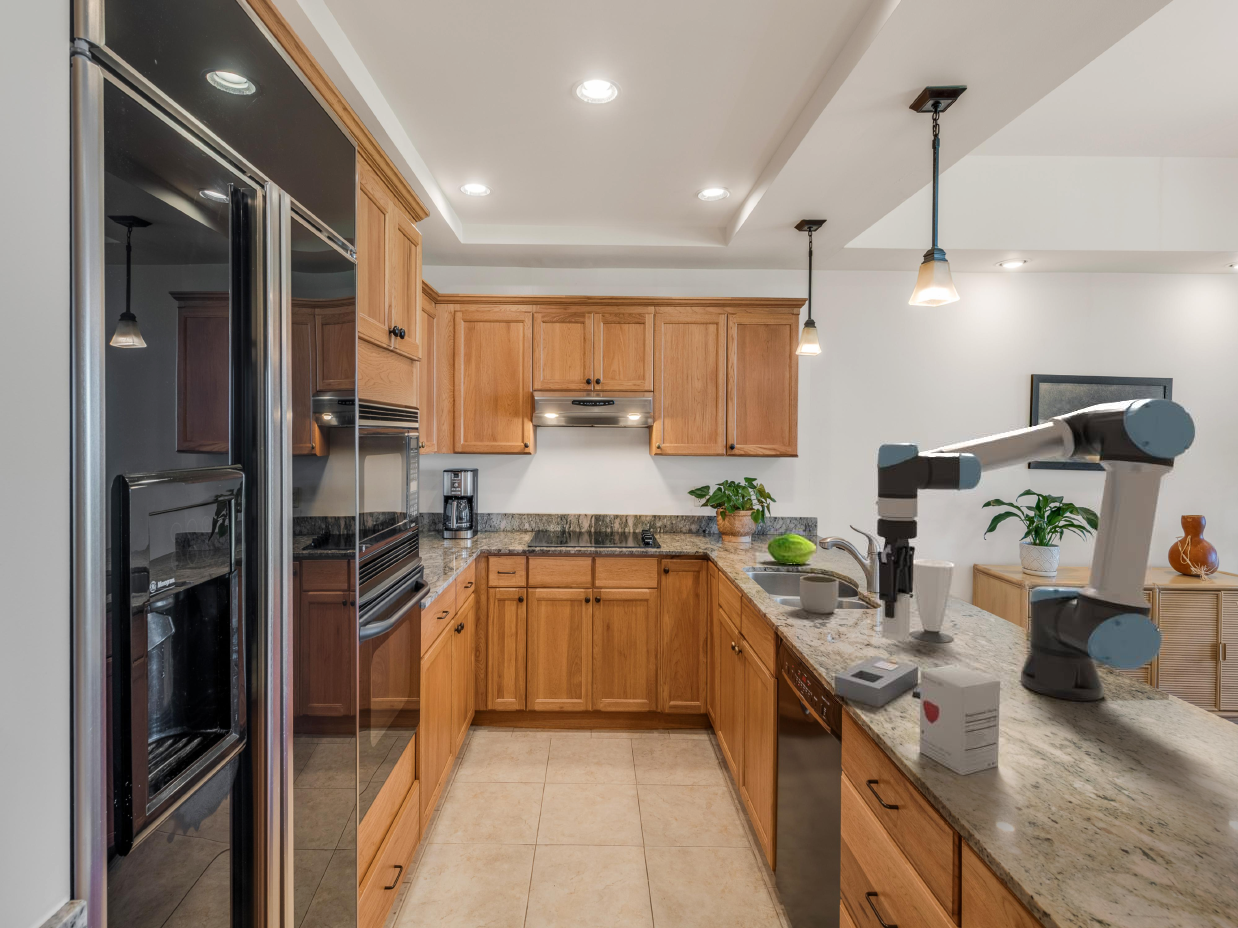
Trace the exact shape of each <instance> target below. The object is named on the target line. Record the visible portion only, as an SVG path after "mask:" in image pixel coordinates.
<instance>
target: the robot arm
mask: <svg viewBox="0 0 1238 928" xmlns="http://www.w3.org/2000/svg"><path fill="white" fill-rule="evenodd" d="M1195 437H1196V426H1195V422H1194V420H1193V417H1192V415H1190V413H1189V412H1187V411H1186V409H1185V408H1184V406H1182V405H1181V404H1179V403H1177V402H1176V401H1173V400H1170V399H1168V398H1167V399H1166V398H1138V399H1132V400H1124V401H1118V402H1106V403H1099V404H1096V405H1092V406H1087V407H1086V408H1082V409H1079V410H1077V411H1073V412H1069V413H1066V414H1063V415H1057V416H1054V417H1051V418H1048V419H1047V420H1046V421H1045V422H1044V423H1043V424H1039V425H1036V426H1031V427H1026V428H1021V429H1018V430H1014V431H1008V432H1004V433H999V434H996V435H992V436H986V437H982V438H977V439H972V440H969V441H964V442H960V443H959V442H958V443H955V444H951V445H948V446H944V447H943V446H941V447H939V448H938V447H937V448H935V449H930V450H926V451H925V450H924V451H921V452H920V451H919V447H918V444H915V443H884V444H882V445H880V447H879V448H878V453H877V464H876V467H877V501H876V502H875V505H876V506H877V515H878V517H880V518H878V519H877V520H876V521H877V522H876V523H877V526H876V528H877V529H876V534H877V536H879V537H880V538H884V544H883V549H882V551H877V563H878V600H879V601H881V602H882V601H884V632H887V633H892V634H896V635H898V634H899V602H897V593H904V594H910V599H912V598H913V597H914V594H913V591H914V584H913V560H915V558H914V557H915V552H916V551H915V550H916V547H915V546H913V545H912V546H911V545H910V541H909V540H911V539H912V540H913V539H916V538H917V537H918V522H917V520H916V519H915V518H917V517H918V496H919V495H918V491H919V490H924V491H925V490H940V491H941V490H942V491H943V490H945V491H946V490H949V491H955V490H956V491H958V492H959V491H962V490H963V491H964V490H973V489H975V488H976V487H977V486H979V484H980V481H981V478H982V473H987V472H989V471H995V470H999V469H1003V468H1004V469H1005V468H1009V467H1013V466H1018V465H1022V464H1027V463H1032V462H1035V461H1036V462H1037V461H1040V460H1045V459H1051V458H1056V459H1059V460H1067V459H1071V458H1076V457H1079V458H1080V457H1099V458H1098V463H1099V465H1100V466H1101V467H1102V468H1103V469H1104V470H1105V472H1106V473H1105V474H1106V475H1105V480H1104V486H1103V492H1102V499H1101V504H1100V505H1101V506H1100V511H1099V517H1098V518H1099V519H1098V524H1097V531H1096V537H1095V542H1094V549H1093V556H1092V563H1091V569H1090V573H1089V582H1088V585H1086V586H1085V587H1075V586H1074V587H1072V586H1053V585H1052V586H1051V585H1050V586H1047V585H1046V586H1036V587H1034V588H1033V589H1032V590H1031V594H1030V601H1029V605H1030V634H1029V635H1030V638H1029V639H1030V641H1029V642H1030V649H1029V651H1028V653H1027V656H1026V658H1025V659H1026V660H1025V661H1024V664H1023V665H1022V668H1021V671H1020V682H1021V684H1022V685H1023V686H1024V687H1026V688H1027V689H1029V690H1032V691H1034V692H1036V693H1039V694H1042V695H1046V696H1049V697H1053V698H1057V699H1062V700H1067V701H1068V700H1070V701H1077V702H1078V701H1079V702H1091V701H1092V702H1094V701H1098V700H1101V699H1102V698H1103V697H1104V685H1103V682H1102V679H1101V677H1100V674H1099V671H1098V668H1097V666H1096V663H1099V664H1101V665H1102V666H1103V665H1104V666H1108V667H1111V668H1113V669H1117V670H1119V671H1132V670H1137V669H1140V668H1142V667H1144V665H1146V664H1149V663H1150V662H1152V661H1153V660H1154V659H1155V657H1157V655H1158V654H1159V651H1160V650H1161V646H1162V642H1163V641H1162V634H1161V630H1160V629H1159V628H1158V627H1157V624H1156V623H1155V622H1154V621H1153V620H1152V619H1151V618H1150V614H1151V608H1152V606H1151V603H1150V602H1148V600H1147V599H1146V598H1145V597H1144V595H1143V593H1144V587H1145V581H1146V574H1147V569H1148V564H1149V563H1148V562H1149V555H1150V550H1151V543H1152V537H1153V532H1154V530H1153V529H1154V525H1155V518H1156V513H1157V506H1158V500H1159V492H1160V487H1161V480H1162V477H1163V476H1164V475H1166V474H1167V473H1169V472H1171V471H1172V470H1173V469H1174V464H1175V459H1176V458H1177V457H1178V456H1181V455H1183V454H1185V452H1186V451H1187V450H1189V449H1190V447H1192V445H1193V443H1194V440H1195ZM1095 662H1096V663H1095Z"/></svg>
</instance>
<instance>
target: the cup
mask: <svg viewBox="0 0 1238 928" xmlns="http://www.w3.org/2000/svg"><path fill="white" fill-rule="evenodd" d="M954 568H955V564H954V563H952V562H949V561H944V560H936V559H914V560H913V591H914V595H915V602H916V606H917V611H918V615H919V620H920V623H921V626H922V630H913V631H912V630H911V632H910V637H911V638H914V639H916V640H920V641H923V642H928V643H936V644H945V643H946V644H947V643H951V642H953V641H955V639H954V637H953V636H952V635H949V634H947V633H944V632H941V628H942V626H943V623H944V619H945V617H946V612H947V608H948V603H949V600H950V599H949V598H950V594H951V588H952V581H953V574H954V573H953V572H954Z"/></svg>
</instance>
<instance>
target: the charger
mask: <svg viewBox="0 0 1238 928" xmlns="http://www.w3.org/2000/svg"><path fill="white" fill-rule="evenodd" d="M910 594H911V593H909V594H904V593H897V602H899V634H898V635H896V634H892V633H887V632H884V601H882V600H881V602H882V609H881V610H882V617H881V625H882V627H881V628H882V629H881V632H882V633H881V634H882V635H881V638H884V639H886V640H887V639H888V640H893V641H897V642H904V641H906V640H908V639H911V638H910V637H911V635H910V633H911V632H910V631H911V628H910V627H911V625H910V623H911V621H910V620H911V598H910Z"/></svg>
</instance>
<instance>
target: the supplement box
mask: <svg viewBox="0 0 1238 928" xmlns="http://www.w3.org/2000/svg"><path fill="white" fill-rule="evenodd" d="M920 683H921V688H920V697H919V698H920V699H919V700H920V703H919V704H920V706H919V707H920V708H919V709H920V710H919V753H921V754H923V755H925V756H927V757H929V758H931V759H932V760H934V761H935V762H937V763H939V764H940V765H942V766H944V767H946V768H948V769H950V770H951V771H953V772H954V773H956V774H958V775H960V776H965V775H969V774H972V773H977V772H982V771H986V770H988V769H992V768H996V767H998V766H999V744H1000V743H999V741H1000V739H999V738H1000V736H999V735H1000V701H1001V700H1000V697H1001V696H1000V694H1001V681H1000V680H998V679H995V678H993V677H991V676H987V675H985V674H982V673H980V672H978V671H975V670H972V669H969V668H967V667H964V666H962V665H960V664H957V663H954V664H950V665H949V664H948V665H942V666H939V667H929V668H925V669H921V670H920Z"/></svg>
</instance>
